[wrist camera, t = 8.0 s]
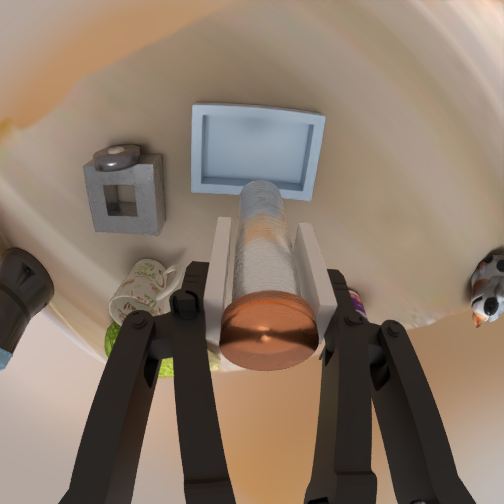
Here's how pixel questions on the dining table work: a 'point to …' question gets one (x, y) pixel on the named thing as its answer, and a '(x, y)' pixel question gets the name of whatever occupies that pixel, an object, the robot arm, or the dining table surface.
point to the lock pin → (266, 289)
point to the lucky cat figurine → (488, 290)
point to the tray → (254, 148)
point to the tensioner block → (126, 173)
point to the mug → (143, 289)
